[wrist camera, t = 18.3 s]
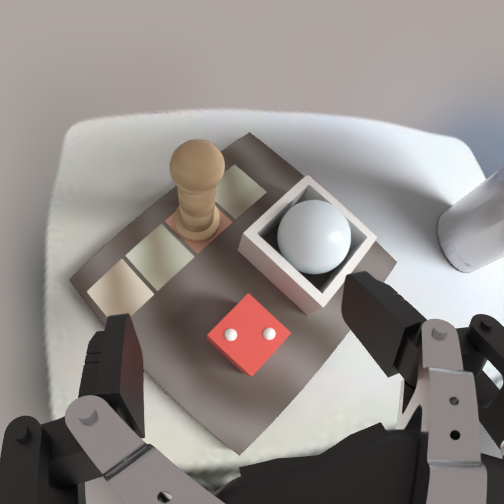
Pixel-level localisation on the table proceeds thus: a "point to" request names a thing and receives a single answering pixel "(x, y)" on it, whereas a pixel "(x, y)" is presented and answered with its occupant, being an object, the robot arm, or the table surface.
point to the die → (248, 335)
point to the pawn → (197, 188)
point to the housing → (282, 270)
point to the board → (217, 300)
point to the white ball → (314, 237)
